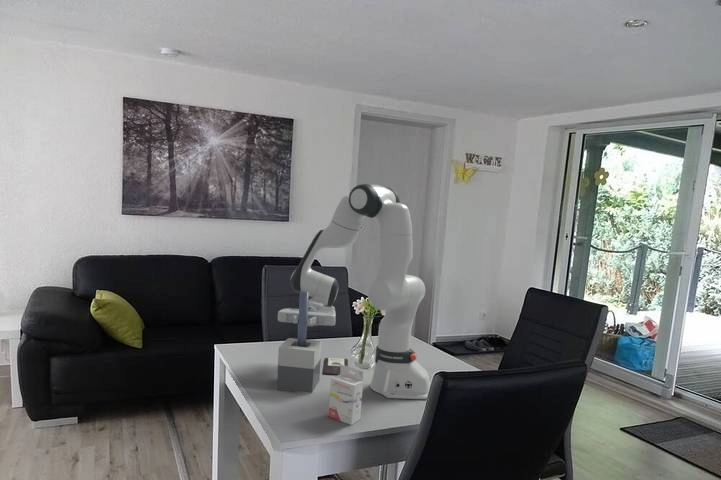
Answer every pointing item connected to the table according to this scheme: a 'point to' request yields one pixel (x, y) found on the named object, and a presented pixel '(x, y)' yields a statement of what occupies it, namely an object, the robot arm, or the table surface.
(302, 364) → the box
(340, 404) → the ink cartridge box
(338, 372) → the chocolate bar
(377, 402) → the table surface
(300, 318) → the stylus
